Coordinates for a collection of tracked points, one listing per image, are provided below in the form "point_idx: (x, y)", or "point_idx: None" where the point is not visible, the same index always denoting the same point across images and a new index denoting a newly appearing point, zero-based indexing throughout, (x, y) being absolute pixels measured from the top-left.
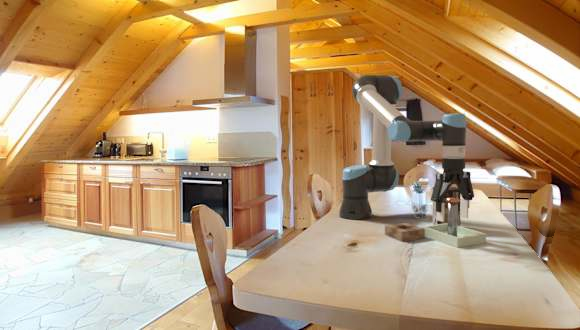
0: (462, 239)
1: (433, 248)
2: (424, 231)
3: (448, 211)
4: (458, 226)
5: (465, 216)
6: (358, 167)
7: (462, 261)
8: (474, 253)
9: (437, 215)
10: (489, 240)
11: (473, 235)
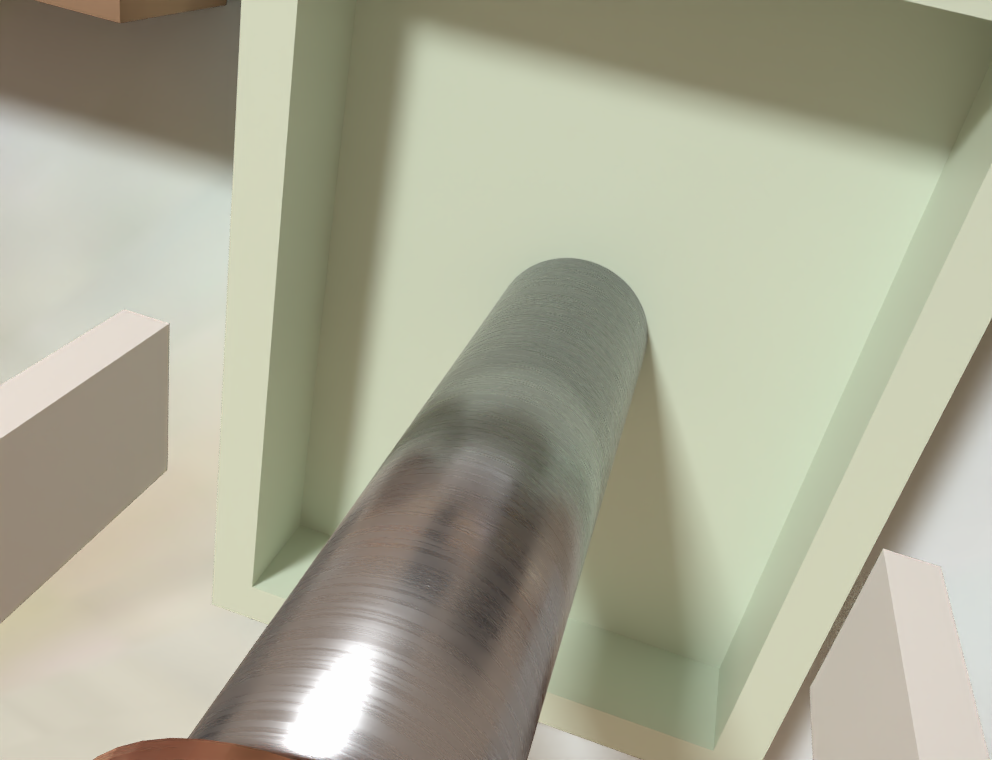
0: None
1: (20, 361)
2: (150, 14)
3: (305, 572)
4: (929, 344)
5: (827, 693)
6: None
7: (15, 680)
8: None
9: (46, 378)
10: None
11: None
